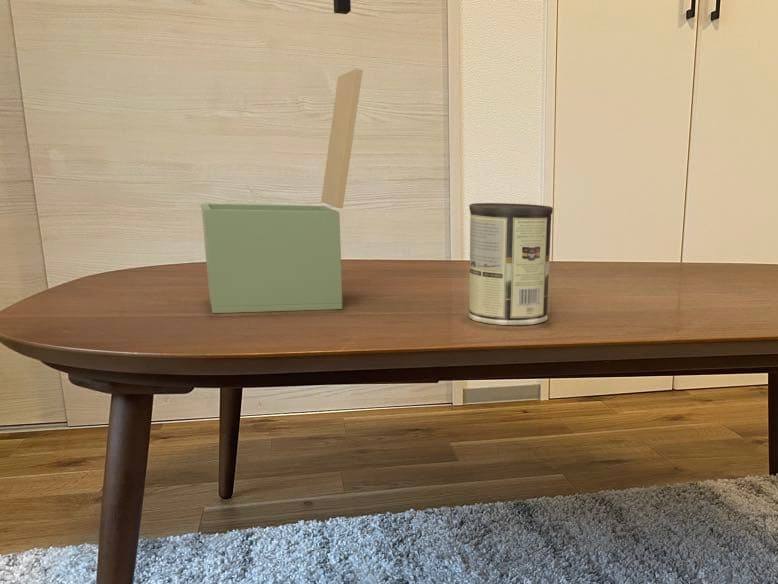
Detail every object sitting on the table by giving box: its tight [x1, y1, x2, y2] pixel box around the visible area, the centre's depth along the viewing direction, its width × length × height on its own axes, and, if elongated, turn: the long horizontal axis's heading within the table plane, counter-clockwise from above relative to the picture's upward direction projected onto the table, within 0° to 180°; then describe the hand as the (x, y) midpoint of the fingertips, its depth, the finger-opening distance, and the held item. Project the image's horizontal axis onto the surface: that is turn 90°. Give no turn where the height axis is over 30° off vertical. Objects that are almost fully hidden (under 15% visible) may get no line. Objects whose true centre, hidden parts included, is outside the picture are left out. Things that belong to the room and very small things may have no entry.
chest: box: [201, 202, 343, 314], centre depth 101 cm, size 16×12×12 cm
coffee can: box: [468, 202, 554, 326], centre depth 98 cm, size 10×10×14 cm
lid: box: [320, 68, 363, 209], centre depth 100 cm, size 16×12×1 cm
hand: (342, 11), depth 92 cm, fingers closed
